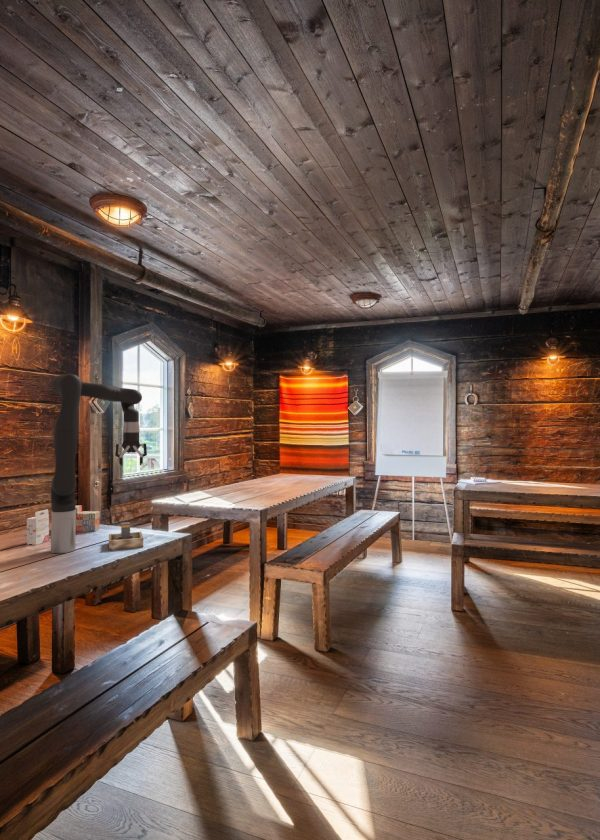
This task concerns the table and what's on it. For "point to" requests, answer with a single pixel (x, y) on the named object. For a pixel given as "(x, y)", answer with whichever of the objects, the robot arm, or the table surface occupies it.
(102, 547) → the table surface
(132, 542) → the box
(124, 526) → the connector
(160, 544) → the table surface
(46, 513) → the ink cartridge box
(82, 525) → the multicoloured rectangular block
